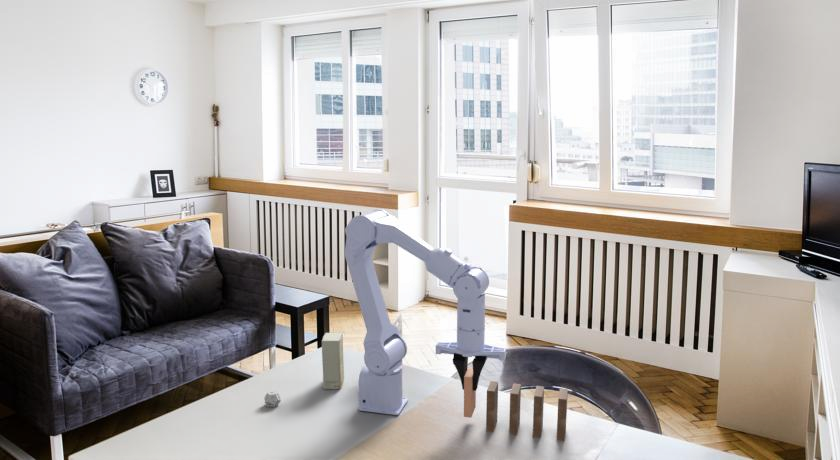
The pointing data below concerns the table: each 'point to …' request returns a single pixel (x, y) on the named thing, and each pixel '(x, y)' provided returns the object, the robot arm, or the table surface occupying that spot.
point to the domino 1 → (492, 406)
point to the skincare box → (332, 360)
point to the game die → (272, 399)
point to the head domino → (469, 394)
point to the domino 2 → (515, 409)
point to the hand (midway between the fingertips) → (470, 388)
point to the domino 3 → (538, 411)
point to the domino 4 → (562, 414)
